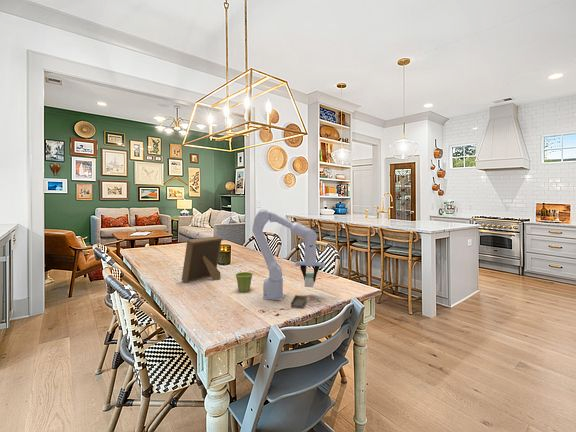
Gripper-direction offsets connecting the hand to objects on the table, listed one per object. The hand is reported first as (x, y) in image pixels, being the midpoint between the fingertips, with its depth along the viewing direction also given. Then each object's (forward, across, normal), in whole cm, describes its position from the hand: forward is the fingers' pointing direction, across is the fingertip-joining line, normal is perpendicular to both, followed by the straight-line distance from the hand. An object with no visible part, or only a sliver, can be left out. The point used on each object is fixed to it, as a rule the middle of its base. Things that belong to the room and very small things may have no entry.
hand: (309, 280), depth 149 cm
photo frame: (+9, -65, +16) cm, 68 cm away
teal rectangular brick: (+2, 0, 0) cm, 2 cm away
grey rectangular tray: (+8, -3, -10) cm, 14 cm away
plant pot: (+8, -35, +2) cm, 36 cm away
